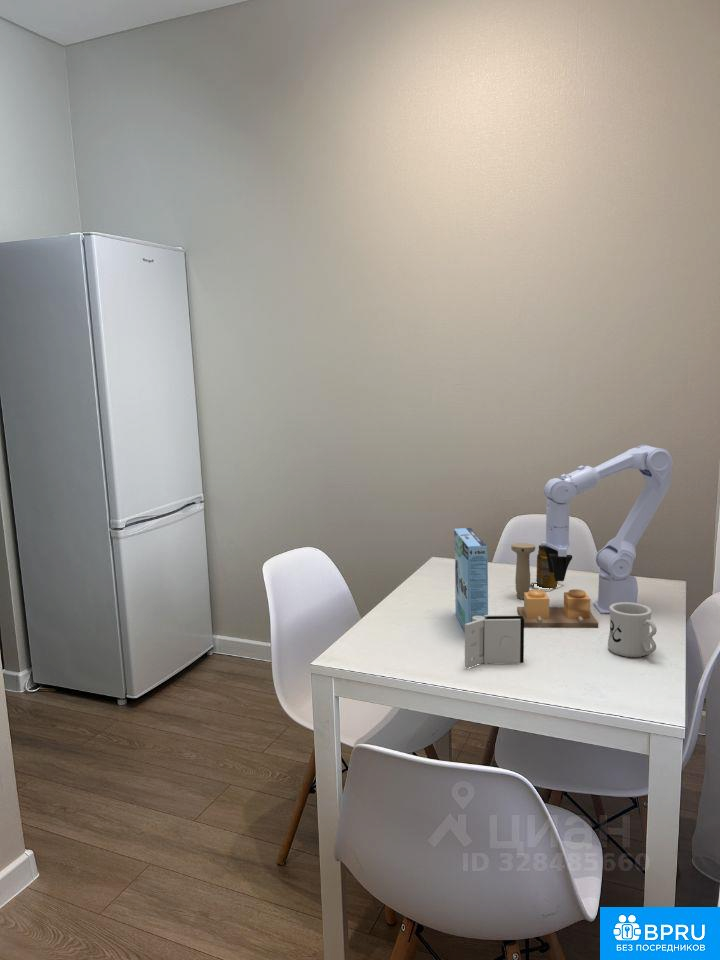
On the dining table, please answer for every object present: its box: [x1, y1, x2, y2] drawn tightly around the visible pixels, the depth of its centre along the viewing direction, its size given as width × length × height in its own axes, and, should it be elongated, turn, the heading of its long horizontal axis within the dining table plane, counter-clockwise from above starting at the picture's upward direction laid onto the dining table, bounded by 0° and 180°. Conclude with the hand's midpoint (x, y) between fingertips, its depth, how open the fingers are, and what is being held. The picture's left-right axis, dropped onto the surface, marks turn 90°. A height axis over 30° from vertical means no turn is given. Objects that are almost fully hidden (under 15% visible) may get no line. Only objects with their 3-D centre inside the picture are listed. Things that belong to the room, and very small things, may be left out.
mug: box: [607, 602, 658, 658], centre depth 166 cm, size 12×9×10 cm
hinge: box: [464, 614, 525, 668], centre depth 163 cm, size 14×5×10 cm, turn 101°
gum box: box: [453, 527, 489, 632], centre depth 184 cm, size 20×5×23 cm, turn 2°
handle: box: [510, 542, 536, 600], centre depth 205 cm, size 5×6×15 cm
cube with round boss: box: [523, 588, 550, 618], centre depth 189 cm, size 5×5×6 cm
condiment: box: [530, 544, 563, 592], centre depth 216 cm, size 7×8×12 cm
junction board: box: [516, 588, 599, 629], centre depth 189 cm, size 18×12×7 cm, turn 86°
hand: (556, 576), depth 193 cm, fingers open, 7 cm apart
